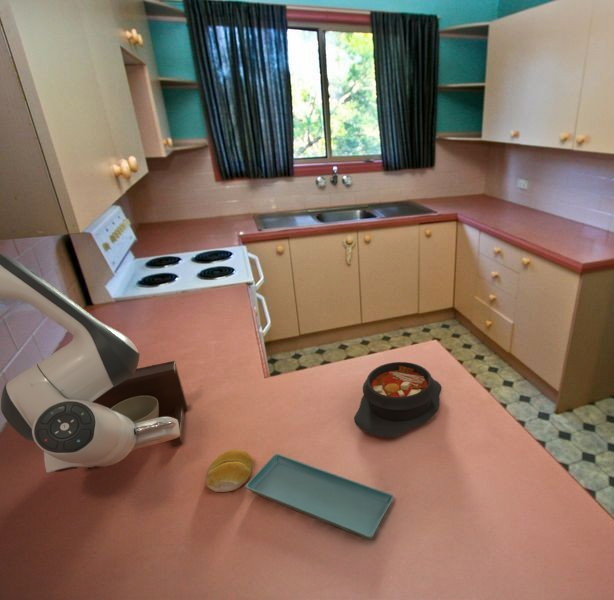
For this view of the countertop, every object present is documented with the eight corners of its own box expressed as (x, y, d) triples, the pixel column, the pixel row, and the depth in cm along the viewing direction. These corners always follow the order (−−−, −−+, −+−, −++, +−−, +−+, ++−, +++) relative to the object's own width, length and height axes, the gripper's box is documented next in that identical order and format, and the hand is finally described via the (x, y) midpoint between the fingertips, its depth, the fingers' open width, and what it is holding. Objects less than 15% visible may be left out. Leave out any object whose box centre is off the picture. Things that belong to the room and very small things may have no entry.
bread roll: (256, 456, 88) (253, 440, 86) (247, 490, 80) (243, 474, 78) (215, 460, 87) (211, 444, 85) (201, 495, 79) (197, 479, 77)
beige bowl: (112, 458, 88) (102, 430, 85) (116, 429, 97) (107, 403, 94) (166, 441, 92) (157, 414, 90) (165, 415, 101) (158, 390, 98)
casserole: (396, 372, 115) (395, 345, 111) (458, 393, 105) (459, 364, 102) (335, 425, 96) (332, 394, 92) (405, 457, 86) (404, 423, 83)
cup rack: (186, 442, 92) (171, 392, 87) (83, 470, 85) (60, 417, 80) (188, 407, 103) (174, 360, 98) (97, 429, 97) (78, 380, 92)
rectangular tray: (395, 503, 76) (394, 492, 75) (372, 547, 69) (371, 536, 68) (277, 461, 86) (275, 452, 85) (245, 496, 78) (243, 486, 77)
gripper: (169, 404, 78) (184, 415, 90) (33, 437, 70) (69, 445, 83) (174, 438, 76) (188, 445, 88) (34, 476, 68) (70, 478, 81)
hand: (129, 445), depth 85 cm, fingers closed
